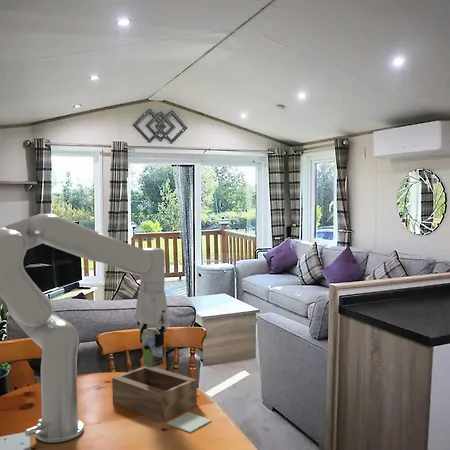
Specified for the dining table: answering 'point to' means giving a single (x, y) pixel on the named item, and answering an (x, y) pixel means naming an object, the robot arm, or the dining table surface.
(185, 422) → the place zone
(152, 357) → the beverage can
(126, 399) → the box
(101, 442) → the dining table surface
